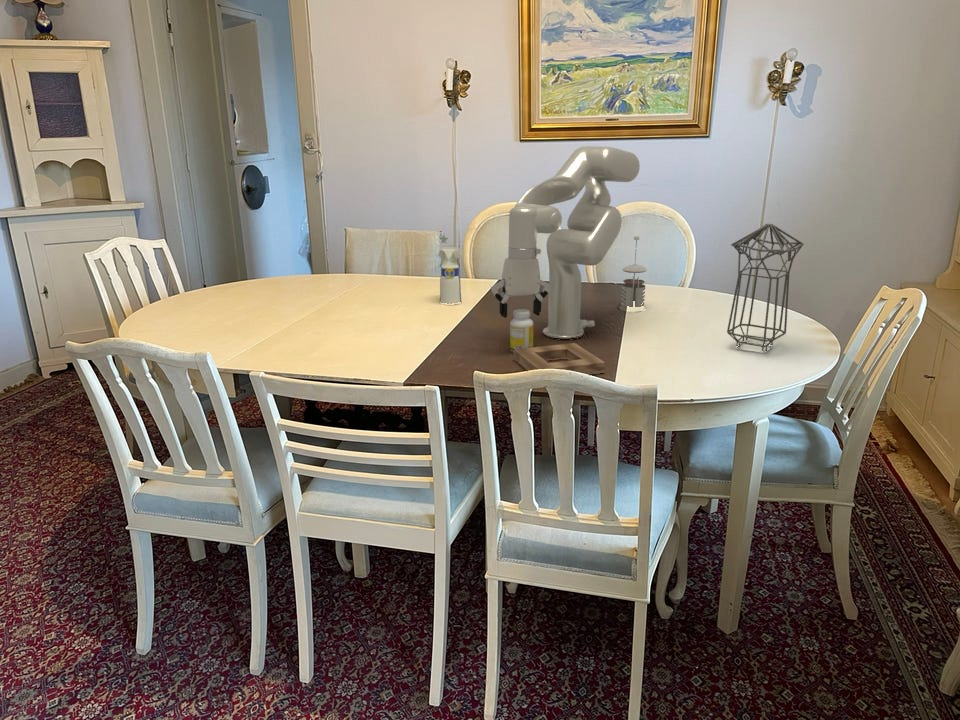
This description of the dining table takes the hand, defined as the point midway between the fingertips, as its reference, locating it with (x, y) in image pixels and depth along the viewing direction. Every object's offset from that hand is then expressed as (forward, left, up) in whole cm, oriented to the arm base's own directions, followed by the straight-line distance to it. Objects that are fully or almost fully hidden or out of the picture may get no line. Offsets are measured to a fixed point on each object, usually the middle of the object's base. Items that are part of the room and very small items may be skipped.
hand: (520, 315), depth 199 cm
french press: (-54, -31, -11) cm, 63 cm away
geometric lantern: (-64, +20, -11) cm, 67 cm away
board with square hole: (-5, +16, -10) cm, 19 cm away
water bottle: (+2, -61, -11) cm, 62 cm away
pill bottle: (-1, 0, -11) cm, 11 cm away
